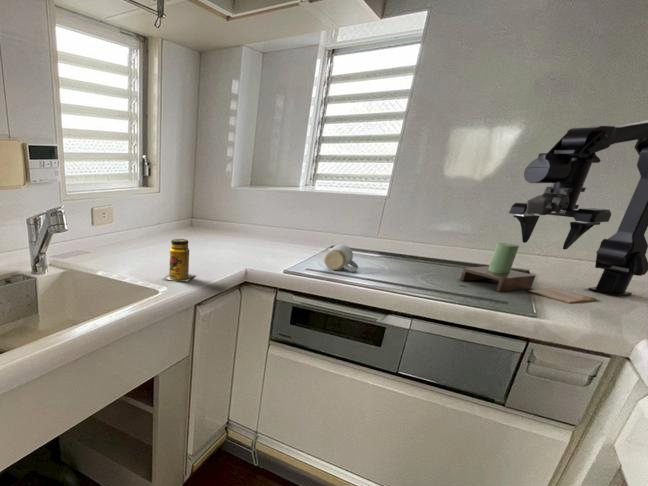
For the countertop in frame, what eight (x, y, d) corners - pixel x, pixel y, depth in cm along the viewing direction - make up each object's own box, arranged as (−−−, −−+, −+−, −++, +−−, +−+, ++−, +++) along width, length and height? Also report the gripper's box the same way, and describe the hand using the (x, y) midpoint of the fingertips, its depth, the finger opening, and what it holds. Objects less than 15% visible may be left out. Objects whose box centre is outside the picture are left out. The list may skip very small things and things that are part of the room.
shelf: (489, 277, 128) (493, 265, 126) (530, 288, 117) (535, 275, 116) (459, 280, 125) (463, 267, 124) (499, 291, 114) (504, 278, 113)
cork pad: (553, 289, 117) (554, 287, 117) (596, 300, 108) (597, 298, 108) (527, 291, 115) (528, 290, 114) (569, 303, 106) (570, 301, 105)
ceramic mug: (320, 268, 138) (325, 246, 134) (327, 264, 143) (332, 242, 140) (354, 274, 132) (359, 251, 128) (360, 269, 137) (365, 247, 134)
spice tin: (496, 268, 122) (505, 242, 119) (513, 273, 118) (523, 246, 115) (483, 269, 121) (492, 243, 118) (500, 274, 117) (510, 246, 114)
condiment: (164, 279, 125) (165, 241, 120) (173, 273, 132) (174, 236, 128) (187, 282, 123) (188, 242, 118) (194, 275, 130) (196, 238, 125)
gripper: (503, 181, 106) (484, 241, 112) (592, 185, 89) (564, 255, 95) (534, 180, 108) (514, 238, 115) (625, 184, 92) (596, 252, 98)
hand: (543, 245), depth 105 cm, fingers open, 9 cm apart
